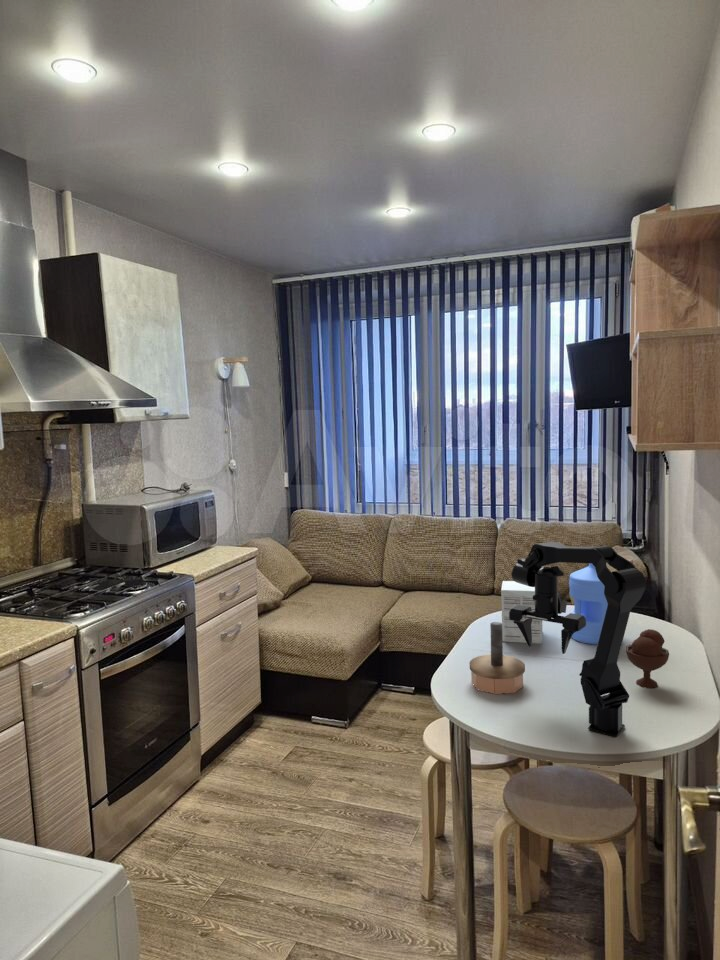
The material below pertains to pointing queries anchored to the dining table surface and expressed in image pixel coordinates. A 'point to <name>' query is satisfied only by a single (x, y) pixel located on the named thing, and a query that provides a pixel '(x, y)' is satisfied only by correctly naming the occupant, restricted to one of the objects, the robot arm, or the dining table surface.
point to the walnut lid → (497, 659)
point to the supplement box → (510, 598)
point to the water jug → (588, 603)
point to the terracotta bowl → (497, 684)
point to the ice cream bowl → (647, 655)
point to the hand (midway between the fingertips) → (546, 649)
